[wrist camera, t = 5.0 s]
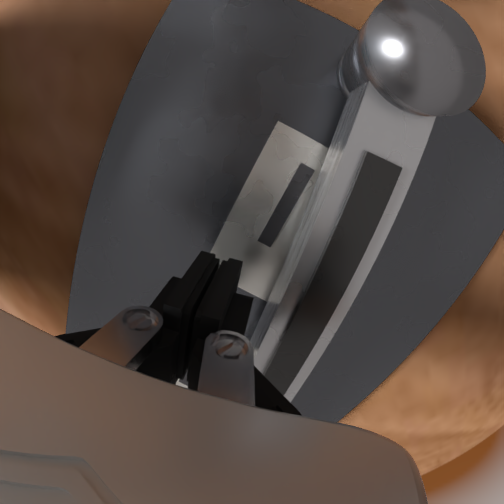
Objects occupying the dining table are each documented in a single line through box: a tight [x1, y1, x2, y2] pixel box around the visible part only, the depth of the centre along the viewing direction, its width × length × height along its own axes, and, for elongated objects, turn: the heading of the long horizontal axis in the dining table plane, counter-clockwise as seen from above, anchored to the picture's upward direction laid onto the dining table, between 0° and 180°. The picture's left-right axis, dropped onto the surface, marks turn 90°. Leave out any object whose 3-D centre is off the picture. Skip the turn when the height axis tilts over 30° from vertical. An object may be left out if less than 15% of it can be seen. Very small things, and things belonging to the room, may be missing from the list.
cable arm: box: [250, 0, 486, 402], centre depth 11 cm, size 24×3×4 cm, turn 162°
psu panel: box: [66, 0, 504, 422], centre depth 14 cm, size 24×18×2 cm
